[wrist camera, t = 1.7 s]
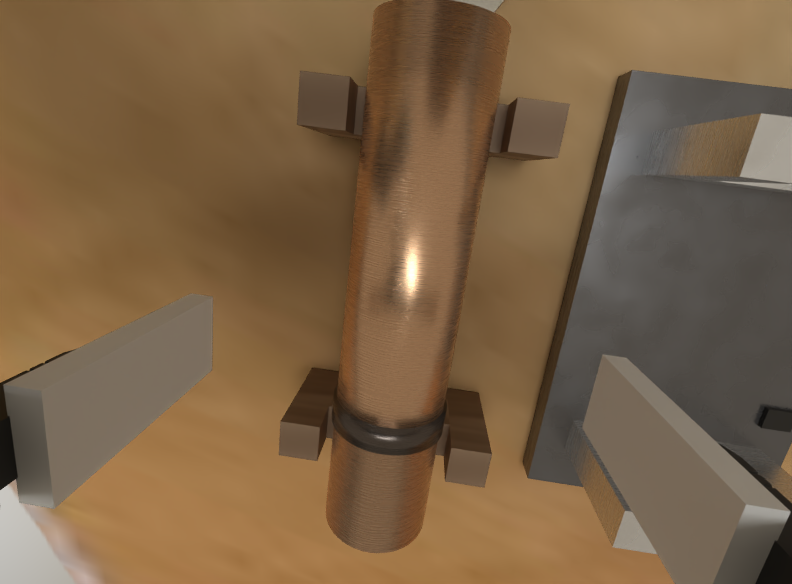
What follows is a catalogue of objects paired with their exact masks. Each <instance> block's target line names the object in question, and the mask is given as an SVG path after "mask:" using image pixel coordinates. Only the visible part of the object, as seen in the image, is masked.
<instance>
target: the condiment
mask: <svg viewBox="0 0 792 584" xmlns="http://www.w3.org/2000/svg"><path fill="white" fill-rule="evenodd" d="M454 1H459V2H464V3H468V4H472V5H476V6H479V7H482V8H485V9H487V10H490V11H492V12H495V11H496V9H497V8H498V7H499V6H500V5H501V3H502V2H503V1H504V0H454Z"/></svg>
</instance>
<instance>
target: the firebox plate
mask: <svg viewBox="0 0 792 584" xmlns="http://www.w3.org/2000/svg"><path fill="white" fill-rule="evenodd" d="M603 354H604V355H611V356H618V357H625V358H627V359H628V360H629V361H630V362H632V363H633V364H634V365H635V366H636V367H637V368H638V369H639V370H640V371H641V372H642V373H643V374H644V375H645V376H646V377H648V378H649V379H650V380H651V381H652V382H653V383H654V384H655V385H656V386H657V387H658V388H659V389H660V390H661V391H662V392H664V393H665V394H666V395H667V396H668V397H669V398H670V399H671V400H672V401H673V402H674V403H675V404H676V405H677V406H679V407H680V408H681V409H682V410H683V411H684V412H685V413H686V414H687V415H688V416H689V417H690V418H691V419H692V420H693V421H695V422H696V423H697V424H698V425H699V426H700V427H701V428H702V429H703V430H704V431H705V432H706V433H707V434H708V435H709V436H711V437H712V438H713V439H714V440H715V441H716V442H717V443H720V444H721V445H723V446H724V447H726V448H727V449H729V450H731V451H732V452H734V453H735V454H737V455H739V456H740V457H742V458H743V459H744V460H745V461H746V462H747V463H748V464H749V465H750V466H752V467H753V468H754V469H755V470H756V471H757V472H758V475H761V476H762V477H764V478H765V479H766V480H767V481H768V482H769V483H770V484H771V485H772V488H776V489H777V490H778V491H779V492H780V493H781V494H782V495H783V496H784V497H786V498H787V499H788V500H789V501H790V502H791V503H792V476H790V475H789V474H788V473H787V472H786V471H785V470H783V469H782V468H781V465H782V463H783V460H784V458H785V456H786V454H787V452H788V449H789V447H790V445H791V443H792V89H786V88H778V87H769V86H761V85H752V84H744V83H736V82H727V81H719V80H711V79H702V78H694V77H686V76H677V75H669V74H660V73H652V72H644V71H635V70H631V71H629V72H627V73H625V74H623V75H621V76H619V77H618V81H617V85H616V89H615V93H614V97H613V101H612V105H611V109H610V113H609V118H608V122H607V126H606V130H605V134H604V138H603V142H602V146H601V150H600V154H599V158H598V162H597V166H596V170H595V174H594V178H593V182H592V186H591V190H590V194H589V198H588V202H587V206H586V210H585V214H584V218H583V222H582V226H581V230H580V234H579V238H578V242H577V246H576V250H575V254H574V258H573V262H572V266H571V270H570V274H569V278H568V282H567V286H566V290H565V294H564V298H563V302H562V306H561V310H560V314H559V319H558V323H557V327H556V331H555V335H554V339H553V343H552V347H551V351H550V355H549V359H548V363H547V367H546V371H545V375H544V379H543V383H542V387H541V391H540V395H539V399H538V403H537V407H536V411H535V415H534V419H533V423H532V427H531V431H530V435H529V439H528V443H527V447H526V451H525V455H524V459H523V465H524V468H525V471H526V474H527V477H528V478H530V479H536V480H542V481H549V482H555V483H561V484H568V485H574V486H581V487H584V489H585V491H586V493H587V495H588V497H589V499H590V501H591V503H592V505H593V507H594V510H595V512H596V514H597V516H598V518H599V520H600V522H601V524H602V526H603V528H604V530H605V532H606V534H607V536H608V539H609V541H610V543H611V545H612V547H616V548H622V549H628V550H634V551H640V552H646V553H653V554H657V553H656V551H655V549H654V548H653V546H652V544H651V543H650V541H649V539H648V538H647V536H646V534H645V532H644V531H643V529H642V527H641V526H640V524H639V522H638V521H637V519H636V517H635V516H634V514H633V512H632V511H631V509H630V507H629V506H628V504H627V502H626V501H625V499H624V497H623V495H622V494H621V492H620V490H619V489H618V487H617V485H616V484H615V482H614V480H613V479H612V477H611V475H610V474H609V472H608V470H607V469H606V467H605V465H604V464H603V462H602V460H601V459H600V457H599V455H598V453H597V452H596V450H595V448H594V447H593V445H592V443H591V442H590V440H589V438H588V437H587V435H586V433H585V432H584V430H583V428H582V426H583V423H584V419H585V416H586V412H587V409H588V405H589V401H590V398H591V394H592V391H593V387H594V383H595V380H596V376H597V373H598V369H599V366H600V362H601V358H602V355H603Z"/></svg>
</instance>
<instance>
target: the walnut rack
mask: <svg viewBox="0 0 792 584" xmlns="http://www.w3.org/2000/svg"><path fill="white" fill-rule="evenodd" d="M365 97H366V87H360V86H357V84H356V83H355V82H354V81H353V80H352V79H351V77H347V76H339V75H331V74H323V73H315V72H307V71H300V80H299V98H298V116H297V125H300V126H303V127H306V128H309V129H312V130H315V131H318V132H321V133H324V134H327V135H330V136H338V137H346V138H353V139H362V128H363V118H364V108H365ZM569 106H570V104H566V103H558V102H550V101H542V100H534V99H526V98H517V99H516V100H514V101H513V102H512V103H511V104H509V105H505V104H498V106H497V112H496V117H495V123H494V128H493V134H492V140H491V145H490V151H489V156H493V157H501V158H509V159H516V160H524V161H528V160H540V159H551V158H558V155H559V151H560V146H561V142H562V137H563V133H564V128H565V124H566V119H567V115H568V110H569ZM338 378H339V372H336V371H330V370H323V369H316V368H312V369H311V371H310V373H309V374H308V376H307V378H306V379H305V381H304V383H303V384H302V386H301V388H300V390H299V391H298V393H297V395H296V396H295V398H294V400H293V401H292V403H291V405H290V406H289V408H288V410H287V412H286V413H285V415H284V417H283V418H282V420H281V425H280V443H279V455H282V456H288V457H295V458H301V459H307V460H314V461H317V460H318V457H319V455H320V452H321V450H322V447H323V444H324V442H325V439H326V438H332V439H333V430H334V426H333V423H332V406H333V396H334V390H335V387H336V385H337V384H338ZM445 399H446V402H447V411H446V416H445V422H444V427H443V432H442V436H441V437H440V439H439V440H438V442H437V448H436V454H435V455H441V456H444V470H445V481H446V482H452V483H459V484H465V485H471V486H478V487H485V483H486V478H487V474H488V469H489V465H490V460H491V456H492V452H491V448H490V443H489V439H488V434H487V429H486V425H485V420H484V416H483V411H482V406H481V402H480V397H479V393H476V392H470V391H463V390H456V389H450V388H447V392H446V398H445Z"/></svg>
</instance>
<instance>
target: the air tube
mask: <svg viewBox="0 0 792 584" xmlns="http://www.w3.org/2000/svg"><path fill="white" fill-rule="evenodd" d="M510 33H511V26H510V24H509V23H508V22H507V21H506V20H505V19H504V18H503V17H501V16H500V15H498V14H496V13H494V12H492V11H490V10H487V9H485V8H482V7H479V6H476V5H472V4H468V3H464V2H459V1H454V0H393V1H389V2H386V3H384V4H382V5H380V6H378V7H377V8H376V9H375V11H374V14H373V24H372V35H371V45H370V56H369V66H368V76H367V87H366V97H365V108H364V118H363V128H362V139H361V149H360V159H359V170H358V180H357V191H356V201H355V211H354V222H353V232H352V243H351V253H350V263H349V274H348V284H347V295H346V305H345V315H344V326H343V336H342V347H341V357H340V367H339V378H338V384H337V385H336V387H335V390H334V396H333V406H332V423H333V426H334V430H333V440H332V450H331V461H330V471H329V482H328V492H327V502H326V518H327V521H328V524H329V526H330V528H331V530H332V531H333V533H334V534H335V535H336V536H337V537H338V538H339V539H340V540H341V541H343V542H344V543H346V544H347V545H349V546H351V547H353V548H355V549H358V550H361V551H365V552H371V553H387V552H392V551H396V550H399V549H401V548H403V547H405V546H407V545H408V544H410V543H411V542H412V541H413V540H414V539H415V538H416V537H417V536H418V534H419V533H420V531H421V529H422V525H423V521H424V515H425V510H426V504H427V498H428V493H429V487H430V482H431V476H432V470H433V465H434V459H435V454H436V448H437V442H438V440H439V439H440V437H441V436H442V432H443V427H444V422H445V416H446V411H447V402H446V399H445V398H446V392H447V386H448V381H449V375H450V370H451V364H452V358H453V353H454V347H455V341H456V336H457V330H458V325H459V319H460V313H461V308H462V302H463V297H464V291H465V285H466V280H467V274H468V269H469V263H470V257H471V252H472V246H473V241H474V235H475V229H476V224H477V218H478V213H479V207H480V201H481V196H482V190H483V185H484V179H485V173H486V168H487V162H488V156H489V151H490V145H491V140H492V134H493V128H494V123H495V117H496V112H497V106H498V100H499V95H500V89H501V84H502V78H503V72H504V67H505V61H506V56H507V50H508V44H509V39H510Z"/></svg>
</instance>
